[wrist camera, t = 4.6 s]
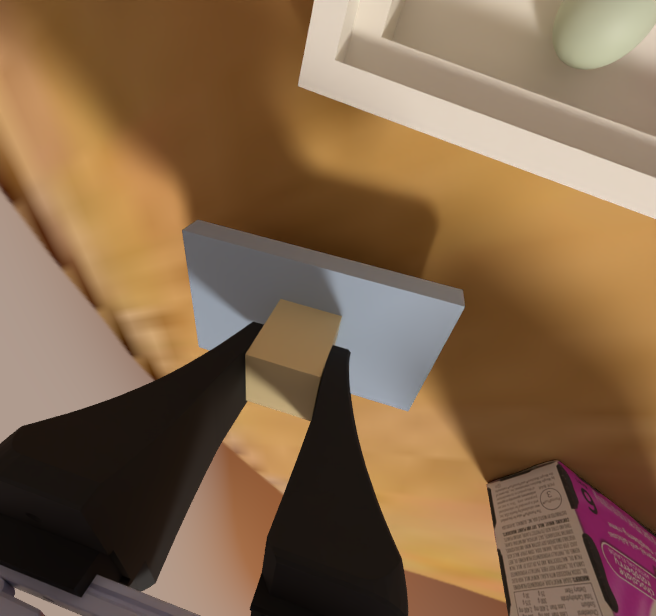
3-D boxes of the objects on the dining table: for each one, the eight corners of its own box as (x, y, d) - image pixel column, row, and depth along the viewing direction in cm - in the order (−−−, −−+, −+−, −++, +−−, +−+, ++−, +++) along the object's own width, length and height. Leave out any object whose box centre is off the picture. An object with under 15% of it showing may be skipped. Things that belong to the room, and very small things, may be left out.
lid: (462, 289, 11) (474, 376, 8) (409, 393, 15) (403, 479, 12) (197, 219, 12) (119, 272, 9) (210, 333, 16) (157, 398, 13)
